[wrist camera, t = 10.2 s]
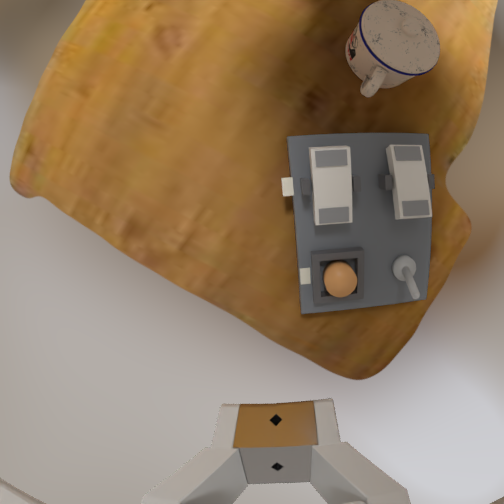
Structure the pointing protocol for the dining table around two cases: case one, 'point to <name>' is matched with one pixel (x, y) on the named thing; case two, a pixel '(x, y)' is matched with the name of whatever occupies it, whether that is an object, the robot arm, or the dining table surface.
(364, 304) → the panel
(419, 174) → the rocker
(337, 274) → the button
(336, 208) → the rocker
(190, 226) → the dining table surface
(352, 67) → the teacup with lid
